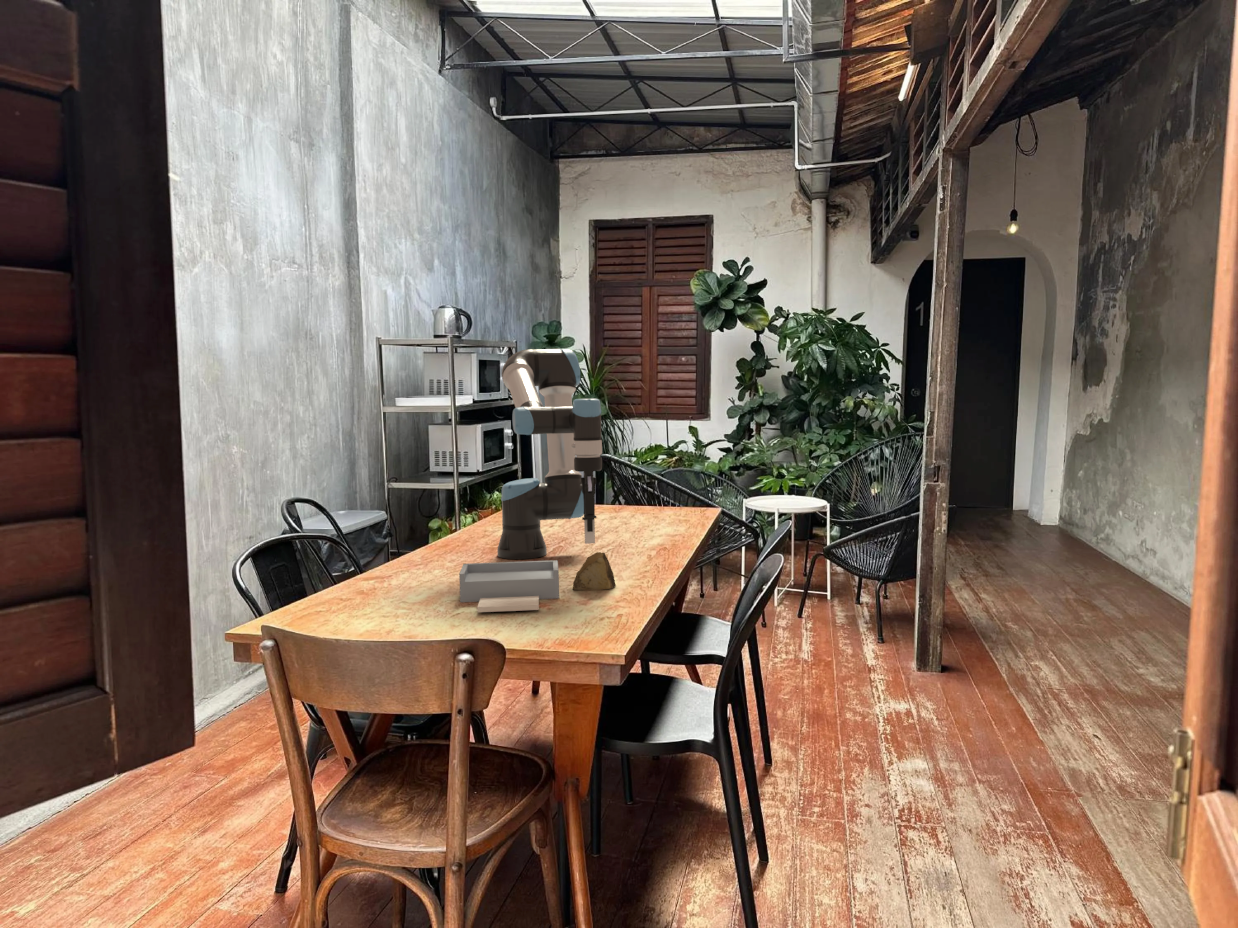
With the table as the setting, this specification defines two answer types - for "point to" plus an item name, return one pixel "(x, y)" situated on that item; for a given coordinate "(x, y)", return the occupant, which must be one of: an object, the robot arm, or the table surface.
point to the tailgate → (508, 604)
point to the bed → (509, 580)
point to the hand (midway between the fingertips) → (589, 542)
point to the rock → (595, 574)
